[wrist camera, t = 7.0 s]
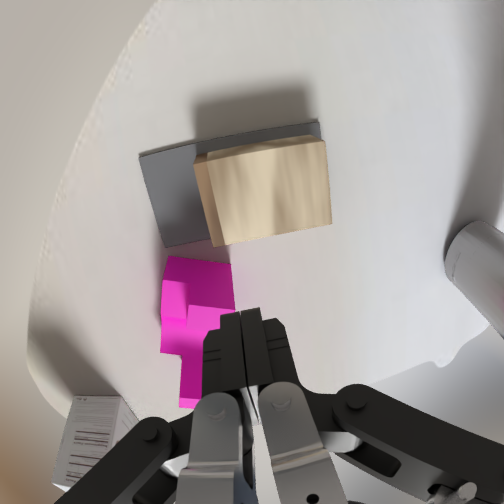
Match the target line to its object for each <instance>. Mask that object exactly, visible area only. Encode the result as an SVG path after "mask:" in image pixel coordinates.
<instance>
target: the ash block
mask: <svg viewBox="0 0 504 504" xmlns="http://www.w3.org/2000/svg"><path fill="white" fill-rule="evenodd" d="M193 166H194V171H195V175H196V179H197V183H198V188H199V192H200V196H201V200H202V204H203V208H204V212H205V216H206V220H207V224H208V228H209V232H210V236H211V240H212V244H213V248H214V247H219V246H224V245H229V244H234V243H239V242H243V241H248V240H253V239H258V238H263V237H268V236H273V235H278V234H284V233H289V232H294V231H299V230H304V229H309V228H314V227H319V226H324V225H330V224H332V214H331V200H330V187H329V175H328V164H327V154H326V145H325V141H323V140H321V139H319V138H317V137H315V136H312V135H304V136H296V137H289V138H283V139H276V140H270V141H264V142H258V143H253V144H247V145H242V146H237V147H231V148H226V149H221V150H217V151H212V152H207V153H203V154H198V155H196V158H195V160H194V163H193Z"/></svg>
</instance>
